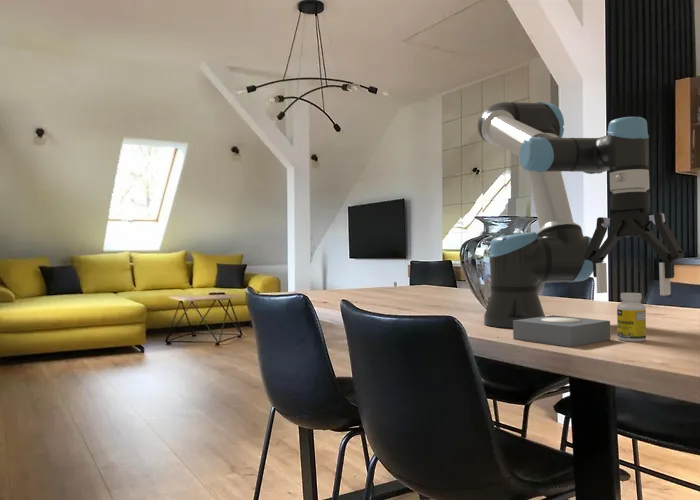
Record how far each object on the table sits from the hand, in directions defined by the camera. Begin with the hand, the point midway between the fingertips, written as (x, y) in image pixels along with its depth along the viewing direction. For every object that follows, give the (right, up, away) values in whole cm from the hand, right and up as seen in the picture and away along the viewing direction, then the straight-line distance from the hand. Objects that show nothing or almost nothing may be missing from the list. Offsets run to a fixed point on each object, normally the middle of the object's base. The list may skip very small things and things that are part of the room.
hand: (632, 294), depth 123 cm
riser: (-14, -10, +3) cm, 17 cm away
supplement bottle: (0, -10, 0) cm, 10 cm away
